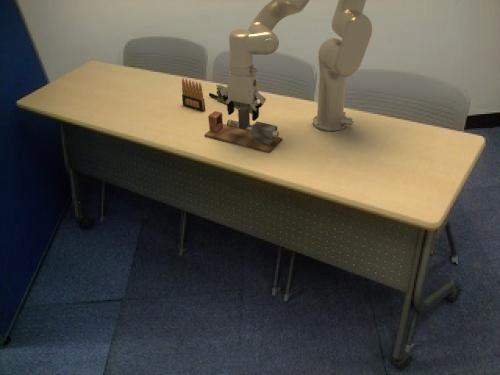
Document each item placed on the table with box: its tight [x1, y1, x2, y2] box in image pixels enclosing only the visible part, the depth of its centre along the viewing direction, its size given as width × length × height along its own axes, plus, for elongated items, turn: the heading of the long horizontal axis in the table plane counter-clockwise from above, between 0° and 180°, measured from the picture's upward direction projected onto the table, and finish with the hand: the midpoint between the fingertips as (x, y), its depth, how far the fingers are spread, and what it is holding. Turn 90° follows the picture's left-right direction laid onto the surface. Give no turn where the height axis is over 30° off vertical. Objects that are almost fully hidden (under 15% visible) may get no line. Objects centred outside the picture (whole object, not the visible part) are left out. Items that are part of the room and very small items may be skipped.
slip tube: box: [226, 106, 280, 138], centre depth 166 cm, size 20×4×8 cm, turn 61°
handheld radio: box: [208, 84, 256, 114], centre depth 194 cm, size 7×3×25 cm
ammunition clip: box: [181, 77, 206, 113], centre depth 190 cm, size 11×2×12 cm, turn 54°
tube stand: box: [204, 110, 283, 154], centre depth 170 cm, size 26×10×7 cm, turn 61°
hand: (243, 116), depth 167 cm, fingers open, 9 cm apart
